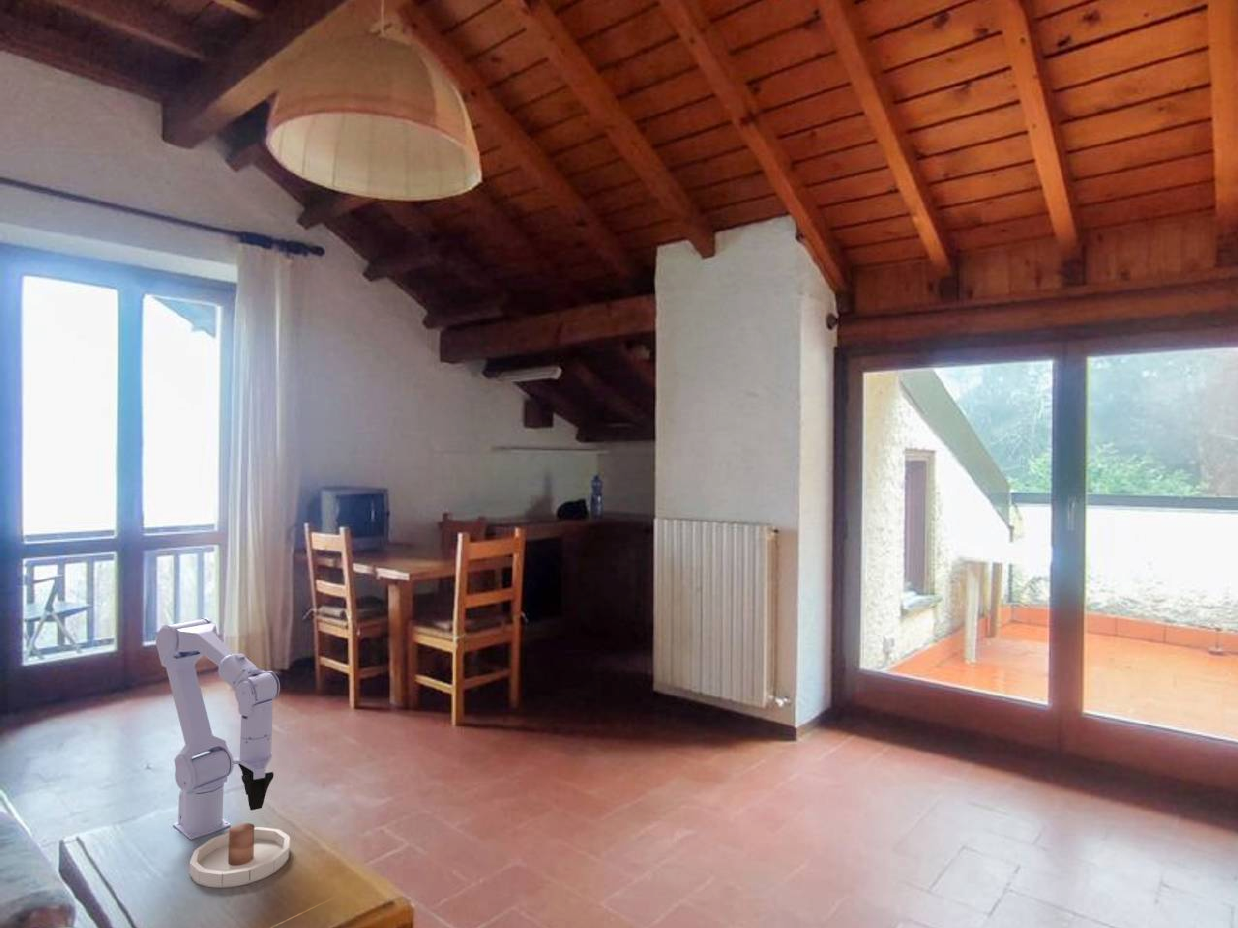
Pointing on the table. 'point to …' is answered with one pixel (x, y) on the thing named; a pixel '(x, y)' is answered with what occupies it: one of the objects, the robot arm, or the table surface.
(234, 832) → the brown rounded cylinder
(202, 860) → the round tray
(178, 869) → the table surface
